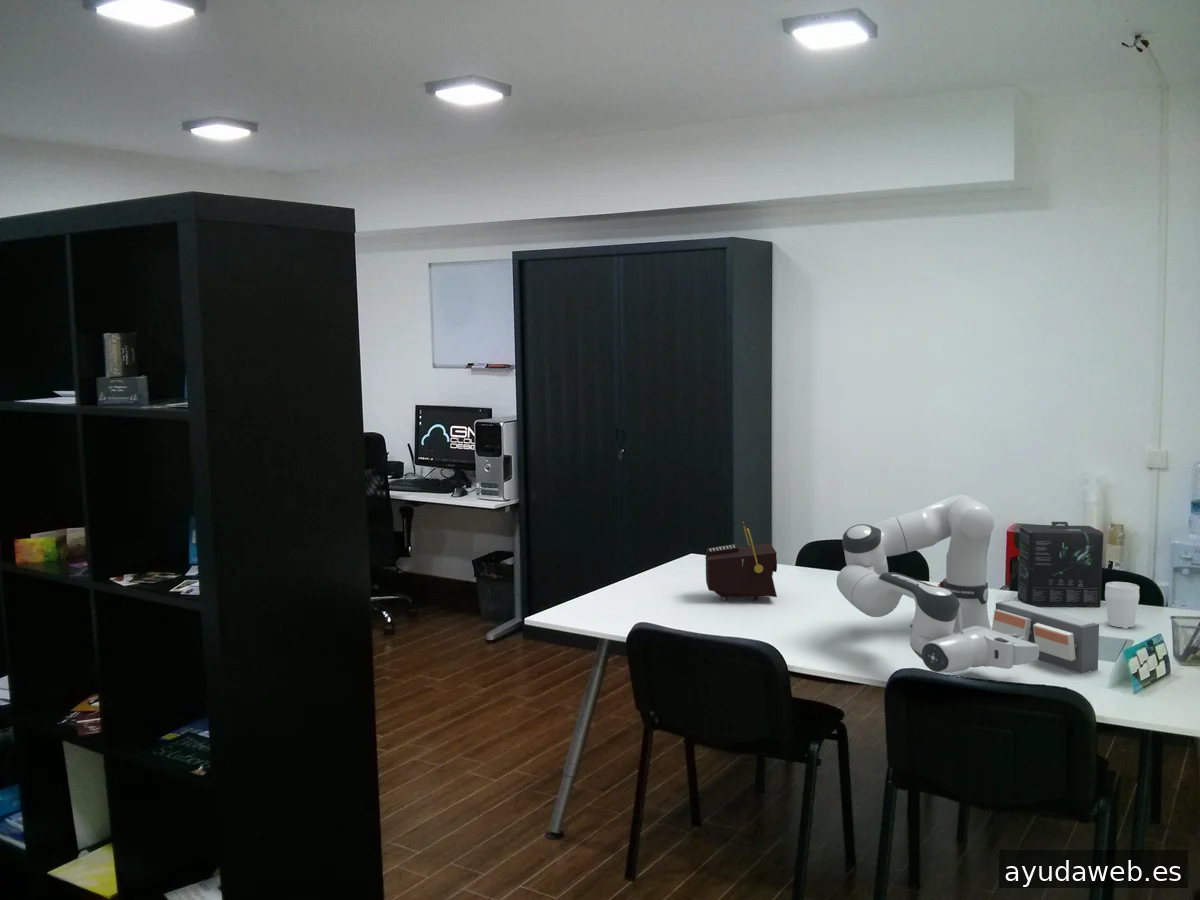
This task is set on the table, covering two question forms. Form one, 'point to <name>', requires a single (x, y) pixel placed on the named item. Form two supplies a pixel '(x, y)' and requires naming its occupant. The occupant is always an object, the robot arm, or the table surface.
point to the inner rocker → (1011, 624)
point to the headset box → (1060, 565)
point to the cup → (1121, 603)
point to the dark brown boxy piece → (741, 570)
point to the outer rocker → (1055, 641)
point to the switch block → (1081, 629)
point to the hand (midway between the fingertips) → (1021, 638)
